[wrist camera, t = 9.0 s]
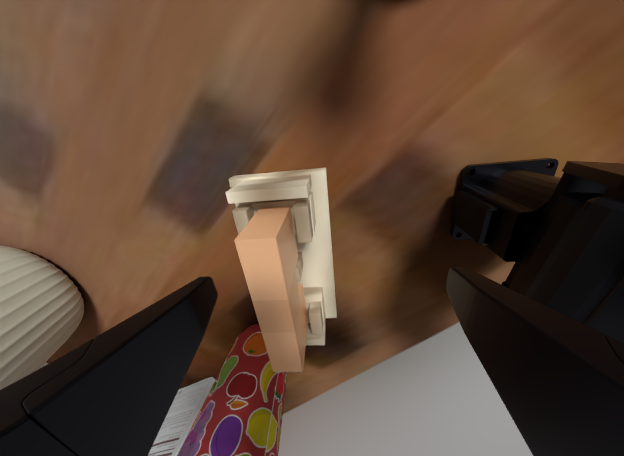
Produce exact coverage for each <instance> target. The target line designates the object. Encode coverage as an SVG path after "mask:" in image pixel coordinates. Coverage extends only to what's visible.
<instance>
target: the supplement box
mask: <svg viewBox="0 0 624 456" xmlns="http://www.w3.org/2000/svg"><path fill="white" fill-rule="evenodd" d="M215 380H216V379H214V378H213V377H209V378H206V379H204V380H201V381H199V382H196V383H194V384H191V385H189V386H186V387H184V388H181V389H179V390H178V392H177V394H176V396H175V399H174V401H173V403H172V405H171V407H170V409H169V411H168V414H167V416H166V418H165V420H164V422H163V424H162V426H161V428H160V431H159V433H158V435H157V437H156V439H155V441H154V443H153V446H152V448H151V450H150V452H149V454H148V456H177V455H178V453H179V451H180V449H181V447H182V445H183V443H184V441H185V439H186V437H187V435H188V433H189V431H190V429H191V427H192V425H193V423H194V421H195V419H196V417H197V415H198V413H199V411H200V409H201V407H202V405H203V403H204V401H205V399H206V397H207V396H208V394H209V392H210V390H211V388H212V386H213V384H214V382H215Z"/></svg>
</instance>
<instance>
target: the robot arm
mask: <svg viewBox="0 0 624 456" xmlns="http://www.w3.org/2000/svg"><path fill="white" fill-rule="evenodd" d="M549 163H550V165H549V166H548V167H547V165H548V164H549ZM557 167H558V160H556V159H552V158H543V159H532V160H520V161H509V162H497V163H485V164H474V165H468V166H466V167H465V168H464V169H463V171H462V176H461V181H460V186H459V192H458V193H457V194H456V198H455V203H454V209H453V214H452V219H451V220H452V222H453V223H452V228H451V236H452V237H453V238H454V239H455V240H465V239H474V240H475V241H476V242H478V243H479V244H480V245H485V246H487V247H488V248H489V249H490V250H492V251H493V252H494V253H495V254H497V255H498V256H499V257H500V258H502V259H503V260H504V261H506V262H513V261H515V262H516V263H515V264H514V266H513V268H512V270H511V272H510V274H509V276H508V277H507V279H506V281H505V282H502V284H499V283H497V282H494V281H492V280H490V279H488V278H486V277H484V276H482V275H480V274H478V273H476V272H474V271H472V270H469V269H467V268H465V267H451V268H450V269H449V272H448V277H447V282H446V291H447V294H448V296H449V298H450V301H451V303H452V305H453V308H454V310H455V312H456V315H457V317H458V319H459V322H460V324H461V326H462V328H463V330H464V333H465V334H466V336H467V338H468V340H469V342H470V344H471V345H472V347H473V349H474V351H475V353H476V354H477V356H478V358H479V360H480V362H481V363H482V365H483V367H484V369H485V370H486V372H487V374H488V376H489V377H490V379H491V381H492V383H493V385H494V386H495V388H496V390H497V392H498V394H499V395H500V397H501V399H502V401H503V403H504V404H505V406H506V408H507V410H508V411H509V413H510V415H511V417H512V419H513V420H514V422H515V424H516V425H517V427H518V429H519V431H520V433H521V435H522V436H523V438H524V440H525V442H526V444H527V445H528V447H529V449H530V451H531V452H532V454H533V456H624V164H619V163H599V162H579V161H567V163H566V165H565V166H564V168H563V170H562V171H563V172H564V174H563V176H562V177H561V178H559V177H555V176H554V175H555V172H556V169H557ZM471 169H472V173H471V174H468V172H469V171H470V170H471ZM459 232H460V233H459ZM457 233H459V234H458V235H456V234H457ZM217 296H218V293H217V290H216V287H215V284H214V282H213V279H212V278H211V277H199V278H197V279H196V280H194V281H192V282H190V283H189V284H187V285H185V286H183V287H182V288H180V289H178V290H177V291H175V292H173V293H171V294H170V295H168V296H166V297H164V298H163V299H161V300H159V301H158V302H156V303H154V304H152V305H151V306H149V307H147V308H145V309H144V310H142V311H140V312H138V313H137V314H135V315H133V316H132V317H130V318H128V319H126V320H125V321H123V322H121V323H119V324H118V325H116V326H114V327H113V328H111V329H109V330H107V331H106V332H104V333H102V334H100V335H99V336H97V337H96V338H95V339H92V340H90V341H88V342H86V343H85V344H83V345H81V346H80V347H78V348H76V349H74V350H73V351H71V352H69V353H67V354H65V355H64V356H62V357H60V358H58V359H57V360H55V361H53V362H51V363H49V364H48V365H46V366H44V367H42V368H40V369H38V370H36V371H34V372H33V373H31V374H29V375H27V376H25V377H23V378H21V379H20V380H18V381H16V382H14V383H12V384H10V385H8V386H6V387H4V388H3V389H1V390H0V456H148V454H149V452H150V450H151V448H152V446H153V443H154V441H155V439H156V437H157V435H158V433H159V431H160V428H161V426H162V424H163V422H164V420H165V418H166V416H167V414H168V411H169V409H170V407H171V405H172V403H173V401H174V399H175V396H176V394H177V392H178V390H179V388H180V386H181V384H182V381H183V379H184V377H185V375H186V373H187V371H188V369H189V366H190V364H191V362H192V360H193V358H194V356H195V354H196V351H197V349H198V347H199V345H200V343H201V341H202V338H203V336H204V334H205V331H206V329H207V326H208V323H209V320H210V317H211V314H212V312H213V309H214V306H215V303H216V300H217Z"/></svg>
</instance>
